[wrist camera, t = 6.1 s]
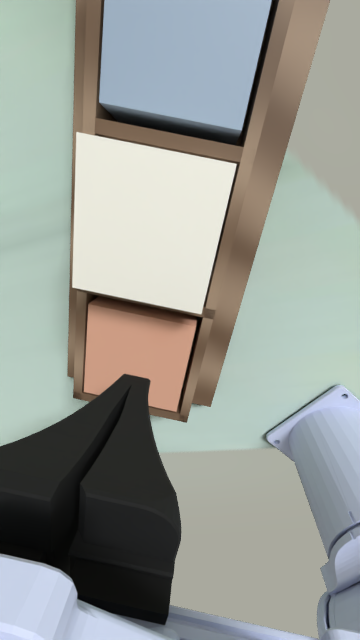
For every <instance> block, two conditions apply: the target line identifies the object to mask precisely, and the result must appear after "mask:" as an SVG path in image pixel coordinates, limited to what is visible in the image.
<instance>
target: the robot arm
mask: <svg viewBox="0 0 360 640" xmlns="http://www.w3.org/2000/svg"><path fill="white" fill-rule="evenodd" d="M150 382H151V381H150V380H149V379H148V378H143V377H138V376H134V375H129V374H123V375H122V376H121V377H120V378H119V379H117V380H116V381H115V382H114V383H113V384H112V385H111V386H110V387H109V388H107V389H106V390H105V391H104V392H102V393H101V394H100V395H99V396H97V397H96V398H95V399H94V400H92V401H91V402H89V403H88V404H87V405H85V406H84V407H82V408H81V409H79V410H78V411H76V412H75V413H73V414H72V415H70V416H68V417H67V418H65V419H63V420H61V421H59V422H57V423H56V424H54V425H52V426H50V427H48V428H46V429H44V430H42V431H39V432H37V433H35V434H32V435H30V436H28V437H25V438H23V439H20V440H18V441H15V442H12V443H9V444H6V445H3V446H0V640H360V400H359V399H357V398H356V397H355V396H354V395H353V394H352V393H351V392H350V391H349V390H348V389H346V388H345V387H344V386H343V385H337V386H335V387H333V388H332V389H330V390H329V391H327V392H326V393H325V394H323V395H322V396H320V397H319V398H317V399H316V400H314V401H313V402H312V403H310V404H309V405H307V406H306V407H304V408H303V409H302V410H300V411H299V412H297V413H296V414H294V415H293V416H292V417H290V418H289V419H287V420H286V421H284V422H283V423H282V424H280V425H279V426H277V427H276V428H274V429H273V430H272V431H270V432H269V433H267V435H266V437H267V441H268V442H270V443H271V444H272V445H273V446H275V447H276V448H277V449H278V450H280V451H281V452H283V453H284V454H285V455H286V456H287V457H289V458H290V459H291V460H292V461H294V462H295V465H296V468H297V470H298V473H299V476H300V479H301V482H302V485H303V488H304V491H305V493H306V496H307V499H308V502H309V505H310V507H311V510H312V513H313V516H314V519H315V522H316V525H317V528H318V530H319V533H320V536H321V539H322V542H323V545H324V548H325V550H326V553H327V556H328V559H329V561H328V562H327V563H326V564H325V565H324V566H322V567H321V568H320V569H321V572H322V575H323V578H324V581H325V585H326V588H327V592H325V593H324V594H323V595H322V596H321V598H320V600H319V603H318V608H317V627H318V635H319V639H317V638H312V637H308V636H304V635H299V634H295V633H291V632H286V631H282V630H277V629H273V628H269V627H264V626H260V625H256V624H251V623H247V622H242V621H238V620H233V619H229V618H225V617H219V616H216V615H211V614H207V613H202V612H198V611H193V610H189V609H185V608H181V607H176V606H172V605H169V604H170V594H171V583H172V579H173V574H174V564H175V558H176V555H177V551H178V548H179V544H180V541H181V520H180V513H179V507H178V501H177V496H176V492H175V490H174V488H173V486H172V484H171V482H170V480H169V478H168V476H167V474H166V471H165V469H164V466H163V464H162V461H161V458H160V456H159V453H158V450H157V447H156V443H155V440H154V436H153V432H152V427H151V421H150V415H149V404H148V394H149V388H150ZM343 394H345V395H344V396H342V395H343ZM275 440H277V441H275Z"/></svg>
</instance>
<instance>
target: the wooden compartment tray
mask: <svg viewBox="0 0 360 640" xmlns="http://www.w3.org/2000/svg"><path fill="white" fill-rule="evenodd" d="M329 3H330V0H272V2H271V6H270V10H269V15H268V19H267V23H266V28H265V32H264V36H263V41H262V45H261V49H260V54H259V58H258V62H257V67H256V71H255V75H254V79H253V84H252V88H251V92H250V97H249V101H248V105H247V110H246V114H245V118H244V123H243V127H242V131H241V133H240V136H239V138H238V140H237V143H236V145H230V144H225V143H220V142H215V141H210V140H205V139H200V138H195V137H190V136H185V135H180V134H175V133H170V132H165V131H159V130H154V129H149V128H144V127H139V126H134V125H129V124H124V123H119V122H118V121H117V120H116V119H115V118H114V117H113V116H112V115H111V114H110V113H109V112H108V111H107V110H106V109H105V108H104V107H103V106H102V105H101V104H100V103H99V94H100V75H101V57H102V38H103V19H104V0H76V25H75V70H74V114H73V159H72V203H71V248H70V292H69V336H68V376H69V377H74V390H73V398H76V399H80V400H85V401H90V402H91V401H92V400H94V399H95V398H96V397H97V396H99V395H96V394H91V393H87V392H84V378H85V360H86V341H87V322H88V304H89V303H91V302H92V301H93V300H94V299H96V298H97V297H98V296H103V297H108V298H113V299H118V300H123V301H127V302H132V303H137V304H142V305H146V306H151V307H156V308H161V309H165V310H170V311H175V312H180V313H184V314H189V315H194V316H197V323H196V329H195V334H194V338H193V342H192V347H191V351H190V355H189V360H188V364H187V368H186V372H185V377H184V381H183V385H182V390H181V394H180V398H179V403H178V407H177V411H176V412H175V411H170V410H166V409H161V408H156V407H152V406H149V414H150V415H154V416H159V417H163V418H168V419H173V420H177V421H182V422H186V423H187V420H188V416H189V412H190V408H191V404H192V403H194V404H199V405H204V406H208V407H211V404H212V400H213V397H214V393H215V390H216V387H217V383H218V380H219V376H220V373H221V370H222V366H223V363H224V359H225V356H226V353H227V349H228V346H229V342H230V339H231V336H232V332H233V329H234V325H235V322H236V319H237V315H238V312H239V308H240V305H241V302H242V298H243V295H244V291H245V288H246V285H247V281H248V278H249V274H250V271H251V268H252V264H253V261H254V257H255V254H256V251H257V247H258V244H259V240H260V237H261V234H262V230H263V227H264V223H265V220H266V217H267V213H268V210H269V206H270V203H271V200H272V196H273V193H274V189H275V186H276V183H277V179H278V176H279V172H280V169H281V166H282V162H283V159H284V155H285V152H286V149H287V145H288V142H289V138H290V135H291V132H292V128H293V125H294V122H295V118H296V114H297V111H298V108H299V105H300V101H301V97H302V94H303V91H304V88H305V84H306V81H307V77H308V74H309V70H310V67H311V64H312V60H313V57H314V54H315V50H316V46H317V43H318V40H319V37H320V33H321V30H322V26H323V23H324V20H325V16H326V13H327V9H328V6H329ZM76 132H79V133H84V134H89V135H94V136H99V137H104V138H109V139H114V140H119V141H124V142H129V143H134V144H139V145H145V146H150V147H155V148H160V149H165V150H170V151H175V152H180V153H185V154H190V155H195V156H200V157H205V158H210V159H215V160H220V161H225V162H230V163H235V164H237V165H236V170H235V174H234V178H233V182H232V187H231V191H230V195H229V199H228V204H227V208H226V212H225V216H224V221H223V225H222V229H221V233H220V237H219V242H218V246H217V250H216V254H215V259H214V263H213V267H212V271H211V276H210V280H209V284H208V288H207V293H206V297H205V301H204V305H203V310H202V314H197V313H192V312H187V311H182V310H178V309H173V308H168V307H163V306H159V305H154V304H149V303H144V302H139V301H135V300H130V299H125V298H120V297H116V296H111V295H106V294H101V293H97V292H92V291H87V290H82V289H77V288H73V287H72V276H73V238H74V200H75V163H76Z"/></svg>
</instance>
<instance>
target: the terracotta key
mask: <svg viewBox="0 0 360 640" xmlns="http://www.w3.org/2000/svg"><path fill="white" fill-rule="evenodd" d="M196 323H197V316H194V315H189V314H184V313H180V312H175V311H170V310H165V309H161V308H156V307H151V306H146V305H142V304H137V303H132V302H127V301H123V300H118V299H113V298H108V297H103V296H98V297H97V298H96V299H94V300H93V301H92V302H91V303H89V304H88V322H87V341H86V360H85V378H84V392H87V393H91V394H96V395H100V394H101V393H102V392H104V391H105V390H106V389H107V388H109V387H110V386H111V385H112V384H113V383H114V382H115V381H116V380H117V379H119V378H120V377H121V376H122V375H123V374H129V375H134V376H138V377H143V378H148V379H149V380H150V381H151V382H150V388H149V394H148V404H149V406H152V407H156V408H161V409H166V410H170V411H175V412H176V411H177V407H178V403H179V398H180V394H181V390H182V385H183V381H184V377H185V372H186V368H187V364H188V360H189V355H190V351H191V347H192V342H193V338H194V334H195V329H196Z"/></svg>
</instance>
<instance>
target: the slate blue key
mask: <svg viewBox="0 0 360 640" xmlns="http://www.w3.org/2000/svg"><path fill="white" fill-rule="evenodd" d="M271 2H272V0H104V19H103V38H102V57H101V75H100V94H99V103H100V104H101V105H102V106H103V107H104V108H105V109H106V110H107V111H108V112H109V113H110V114H111V115H112V116H113V117H114V118H115V119H116V120H117V121H118V122H119V123H124V124H129V125H134V126H139V127H144V128H149V129H154V130H159V131H165V132H170V133H175V134H180V135H185V136H190V137H195V138H200V139H205V140H210V141H215V142H220V143H225V144H230V145H236V143H237V140H238V138H239V136H240V133H241V131H242V127H243V123H244V118H245V114H246V110H247V105H248V101H249V97H250V92H251V88H252V84H253V79H254V75H255V71H256V67H257V62H258V58H259V54H260V49H261V45H262V41H263V36H264V32H265V28H266V23H267V19H268V15H269V10H270V6H271Z"/></svg>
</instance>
